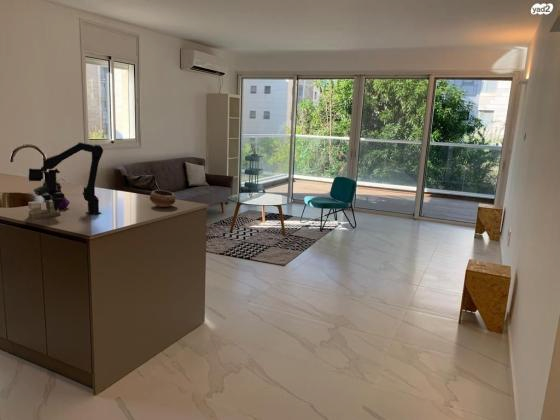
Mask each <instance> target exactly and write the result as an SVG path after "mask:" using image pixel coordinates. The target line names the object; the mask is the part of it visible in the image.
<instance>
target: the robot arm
mask: <svg viewBox="0 0 560 420" xmlns="http://www.w3.org/2000/svg"><path fill="white" fill-rule="evenodd" d="M103 149H104V148H103V147H102V146H101V145H100V144H94V145H93V144H90V143H84V142H81V141H80V142H78V143H76V144H75V145H72V146H71V147H69V148H68V149H65V150H63V151H62V152H60V153H59V154H55V155H53V156H49V157H47V158H46V159H44V161H43V165H42V166H41V167H40V168H28V181H29V182H42V180H44V182H43V183H42V185H41V186H38V187H35V188H34V189H33V192H34V194H35V196H37V197H41V198H43V199H44V202H45V203H46V200H52V201H53V204H54V209H55V211H56V210H57V209H58V207H59V205H60V203H61V201H62V200H63V198H66V197H65V194H64V193H63V192H62V191H61V192H62V193H61V192H59V190H57V185H58V183H59V182H58V180H57V174H60V173H61V171H60V170H59V169H58V168H56V167H57V166H58V165H59V164H61V163H62V162H63V161H64V160H66V159H67V158H70V157H72V156H73V155H75V154H77V153H78V152H80V151H85V152H89V153H91V162H90V169H89V173H88V180H87V184H86V185H84V186H83V191H82V196H83V198H84V200H85V201H86V202H87V211H85V214H87V215H89V216H92V215H93V216H94V215H100V214H102V212H100V210H99V209H100V208H99V205H100V204H99V202H100V200H99V197H97V195H96V188H95V185H96V179H97V174H98V167H99V162H100V160H101V158H102V155H103V153H104V150H103ZM54 168H55V169H54Z"/></svg>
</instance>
